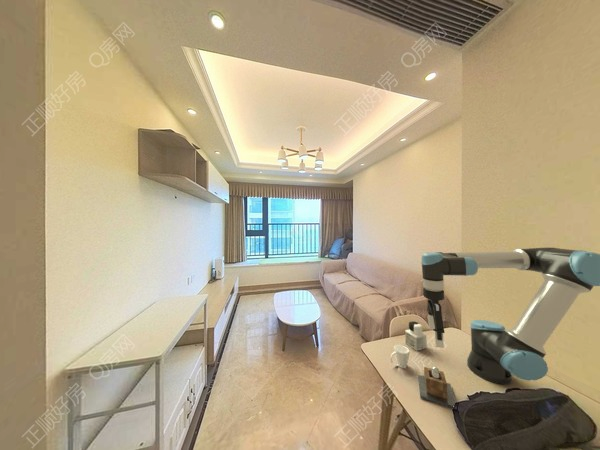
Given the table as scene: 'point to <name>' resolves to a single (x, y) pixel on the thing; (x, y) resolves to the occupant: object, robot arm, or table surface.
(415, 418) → the table surface
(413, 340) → the container
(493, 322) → the robot arm
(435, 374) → the post stand
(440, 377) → the collar
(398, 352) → the cup
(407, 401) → the table surface
